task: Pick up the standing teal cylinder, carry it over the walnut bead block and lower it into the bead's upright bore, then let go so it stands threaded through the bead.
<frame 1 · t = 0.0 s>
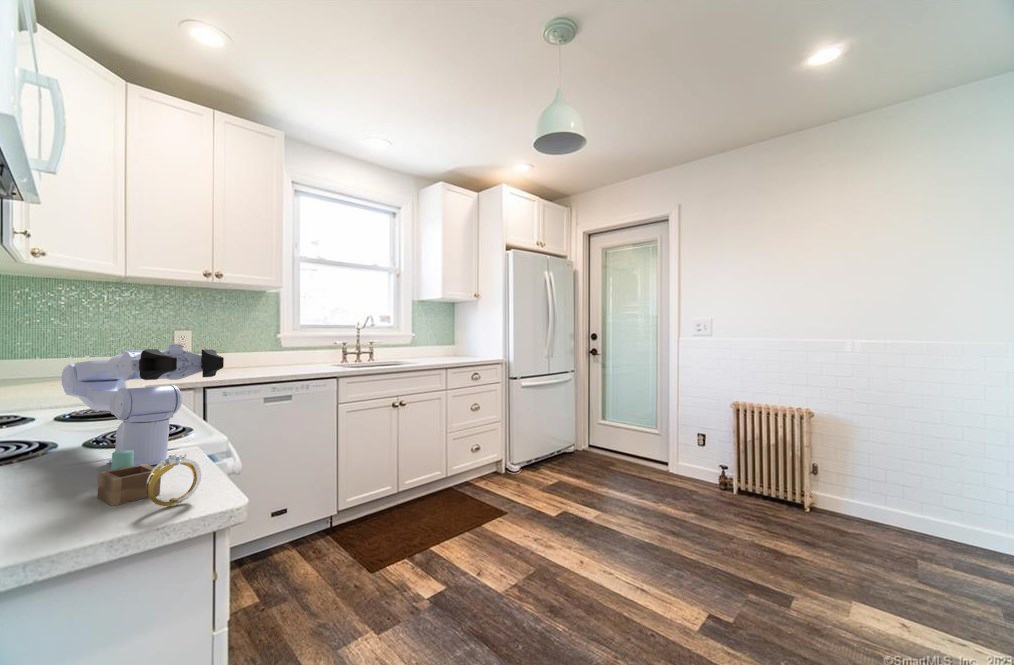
hand: (199, 363, 76), 22 cm above the countertop, tool horizontal, fingers open, 7 cm apart
bead block: (128, 495, 68), on the countertop
teal cylinder: (121, 486, 71), on the countertop
ring: (173, 507, 65), on the countertop
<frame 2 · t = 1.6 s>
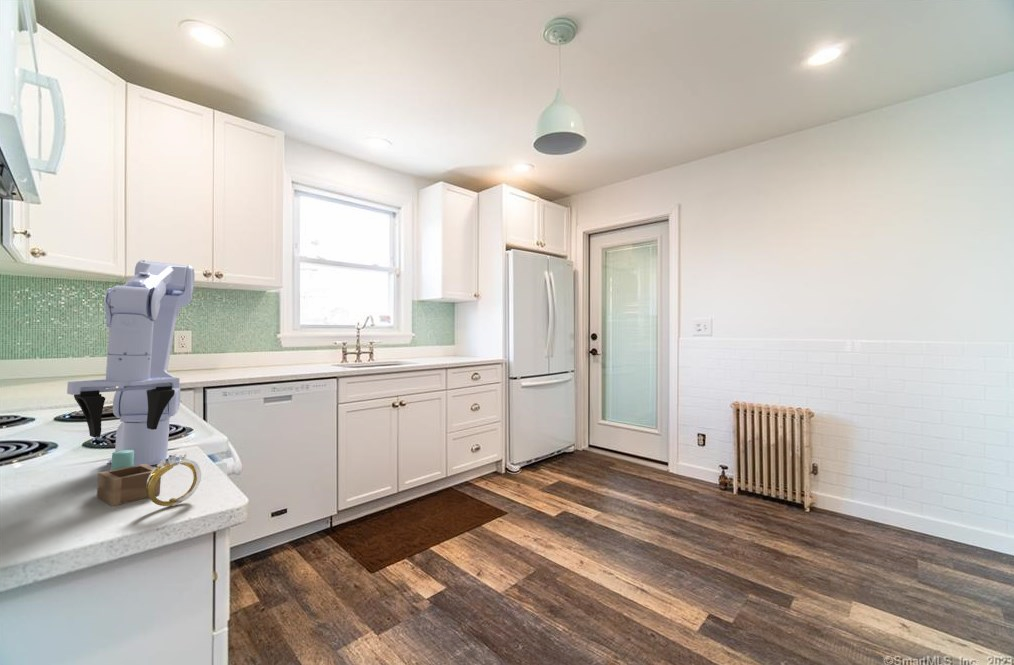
hand: (124, 432, 72), 9 cm above the countertop, tool pointing down, fingers open, 7 cm apart
nothing on the countertop moved.
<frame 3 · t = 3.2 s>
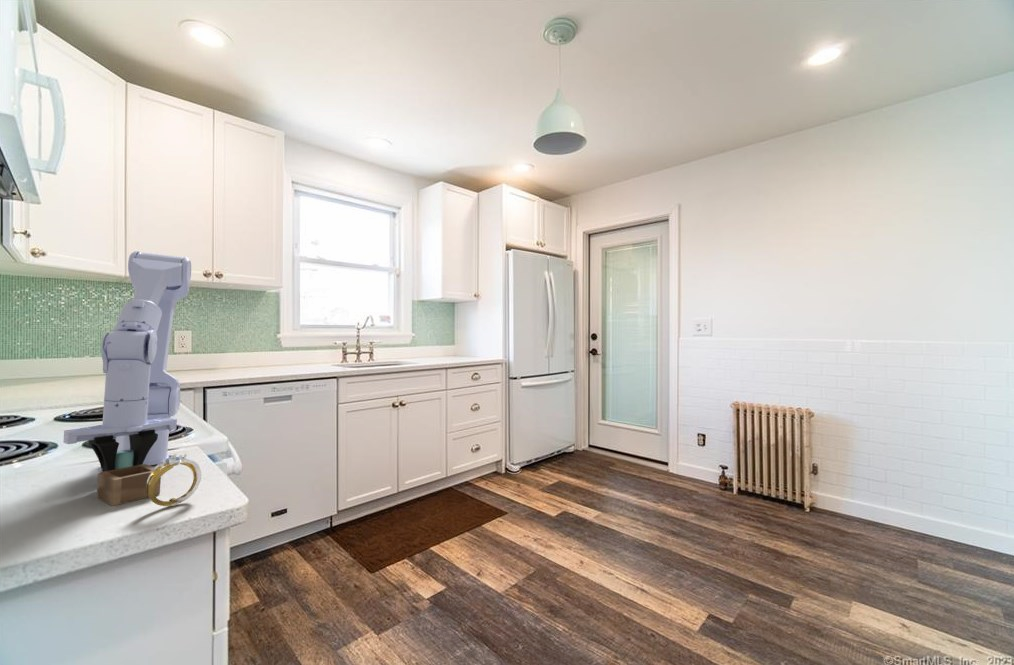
hand: (121, 477, 71), 2 cm above the countertop, tool pointing down, fingers closed on teal cylinder, 3 cm apart
teal cylinder: (121, 486, 71), on the countertop, touching gripper
everything else where it was.
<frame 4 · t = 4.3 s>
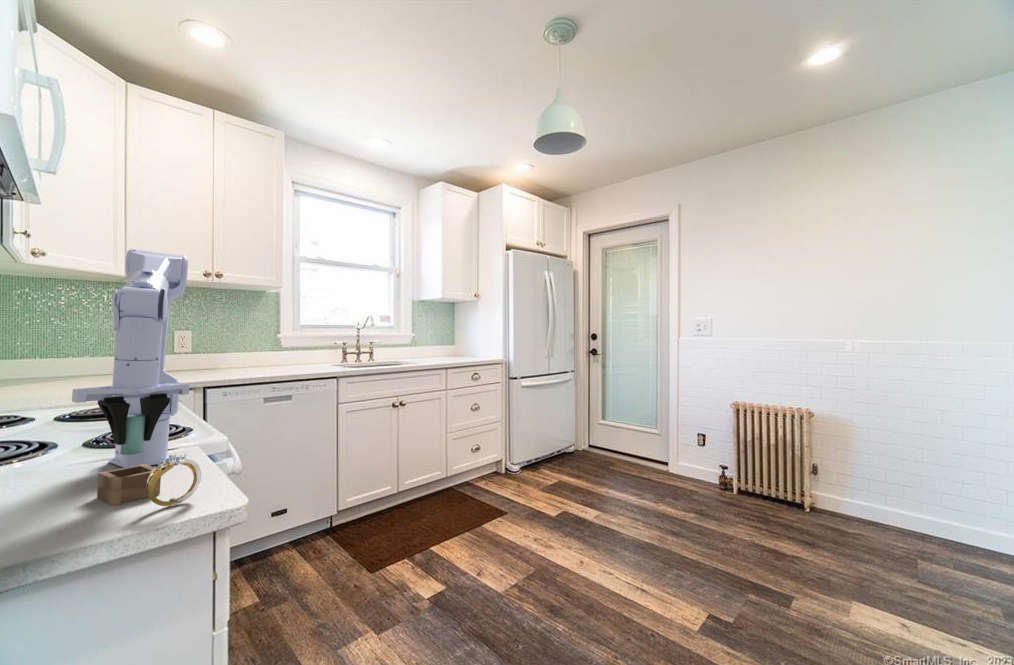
hand: (132, 441, 68), 9 cm above the countertop, tool pointing down, fingers closed on teal cylinder, 3 cm apart
teal cylinder: (131, 452, 68), point 7 cm above the countertop, touching gripper
everything else where it was.
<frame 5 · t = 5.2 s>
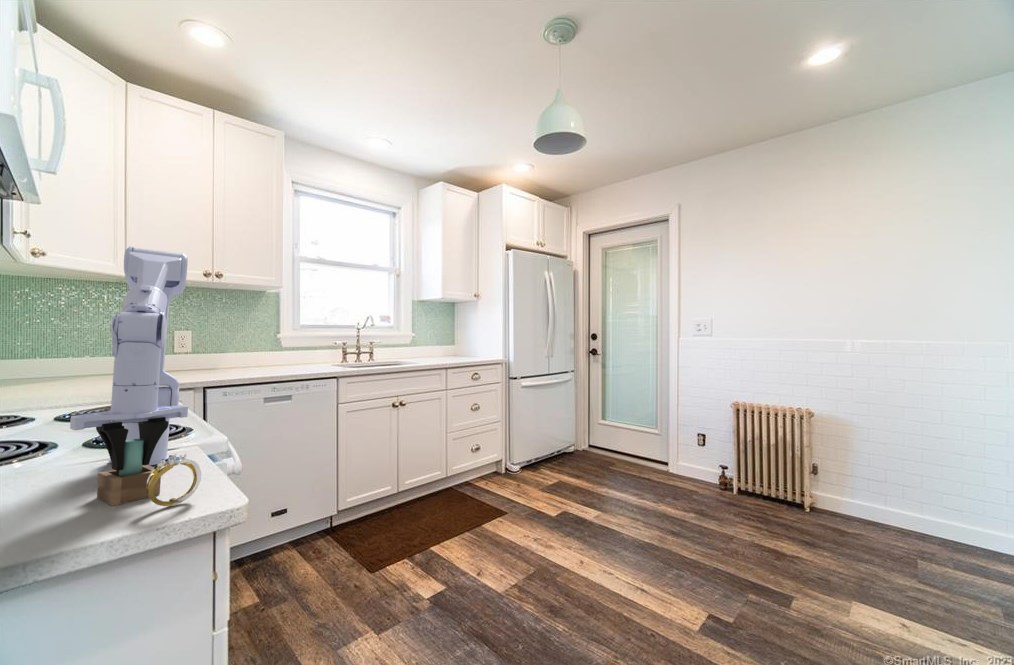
hand: (130, 466, 68), 5 cm above the countertop, tool pointing down, fingers closed on teal cylinder, 3 cm apart
teal cylinder: (130, 477, 68), point 3 cm above the countertop, touching gripper
everything else where it was.
when the fingers open (5 cm above the countertop, at t = 5.9 s): teal cylinder drops 3 cm, resting in bead block.
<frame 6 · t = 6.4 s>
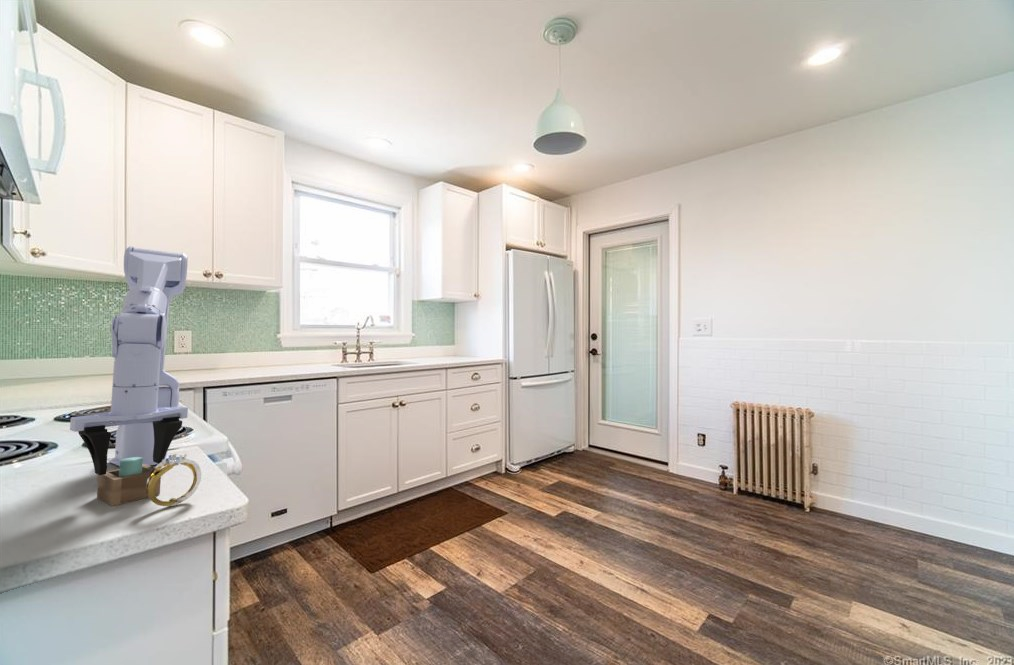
hand: (130, 467, 68), 5 cm above the countertop, tool pointing down, fingers open, 7 cm apart
teal cylinder: (128, 496, 68), resting in bead block
everything else where it was.
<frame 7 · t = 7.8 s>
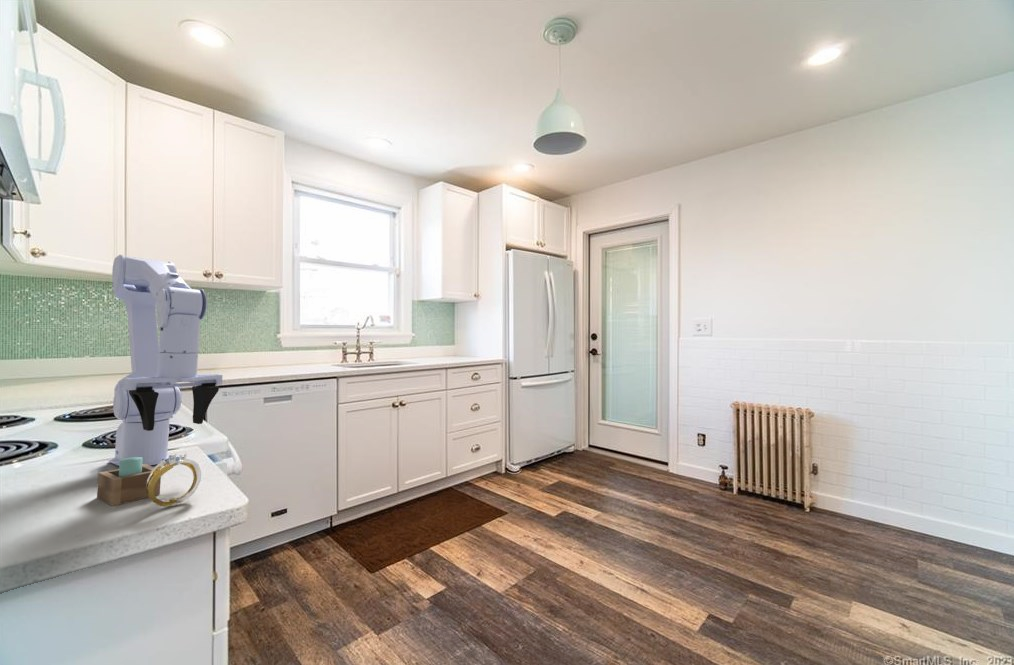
hand: (174, 426, 75), 10 cm above the countertop, tool pointing down, fingers open, 7 cm apart
nothing on the countertop moved.
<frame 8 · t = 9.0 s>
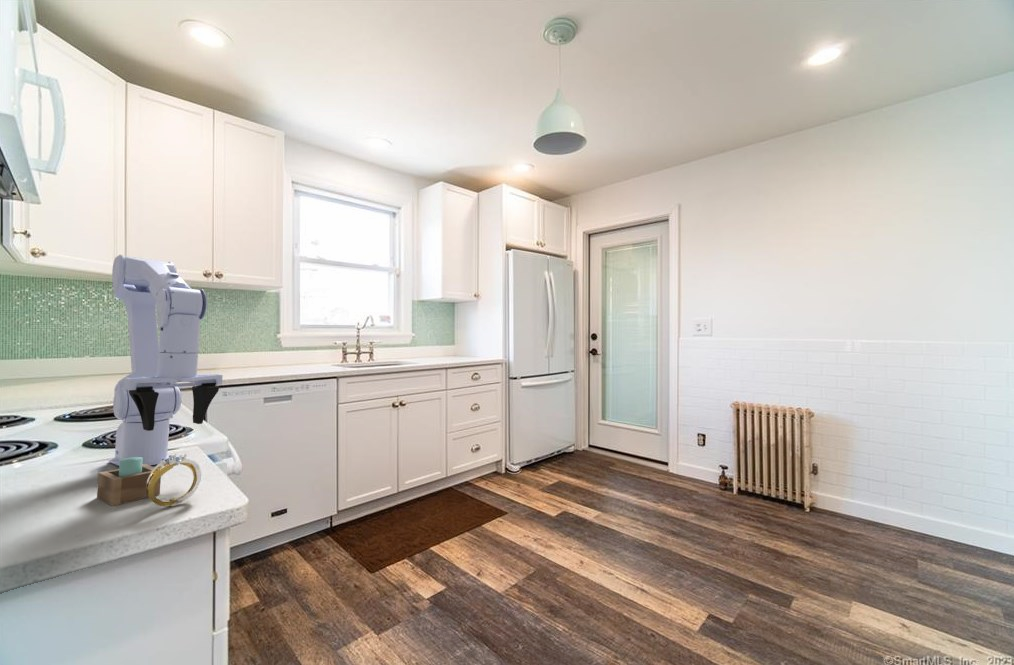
hand: (174, 426, 75), 10 cm above the countertop, tool pointing down, fingers open, 7 cm apart
nothing on the countertop moved.
at the end: teal cylinder 0.0 cm off-centre on the bead block, point 0.0 cm above the bead block's base; teal cylinder tilted 0°; the gripper is holding nothing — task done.
